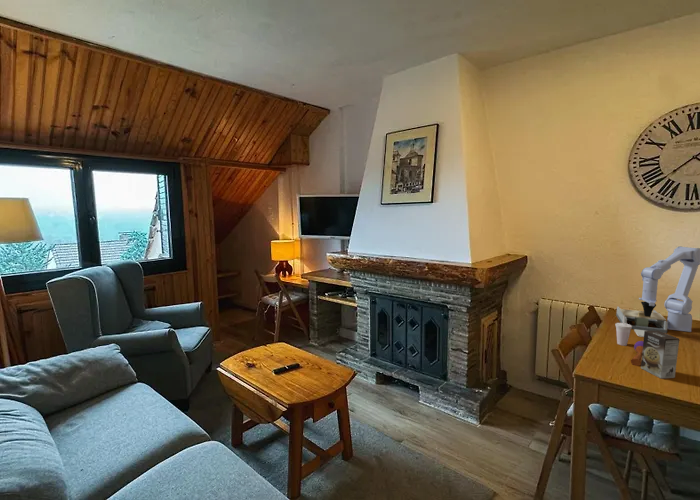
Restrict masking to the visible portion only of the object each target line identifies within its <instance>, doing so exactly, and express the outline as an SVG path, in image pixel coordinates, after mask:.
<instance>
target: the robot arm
mask: <svg viewBox="0 0 700 500" xmlns="http://www.w3.org/2000/svg"><path fill="white" fill-rule="evenodd" d="M677 262H681V263H682V264H683V268H682V271H681V274H680V277H679V278H678V279H679V280H678V283H677V285H676V288H675V292H673V293H671V294H669V295H668V297H667V298H666V299H665V301H664V304H663V305H664V308H665V309H666V311H667V319H666V322H667V323H668V326H667V330H673V331H680V332H688V333H691V332H692V326H693V325H692V324H693V316H692V314H691V312H692V309H693V300H692V299H691V298H690V297H689V293H690V290H691V288H692V285H693V282H694V280H695V277H696V275H697V272H698V268H699V265H700V248H699V247H688V246H676V248H674V249H673V253H671V254H670V255H669V256H668V257H666V258H665V259H659V260H657V262H655V263H653V264H652V265H651V266H649V267H648V266H646V267H644V268H643V269H642V271H640V276H641V278H642V292H641V297H638V300H640V303H641V305H642V308H643V310H642V311H644V315H645V316H648V317H650V316H651V313H652V312H653V310H655V308H656V307H657V304H656V302H657V294H658V285H659V284H658V283H659V280H661V278H662V276H663V275H664V273H666V272H667V271H668V270H670V269H671V267H672V265H673V264H676V263H677Z"/></svg>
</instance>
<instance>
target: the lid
mask: <svg viewBox="0 0 700 500" xmlns="http://www.w3.org/2000/svg"><path fill="white" fill-rule="evenodd" d="M620 310H621V312H622V313H623V315H624V316H627V317H636V318H645V319H655V320H664V321H666V322H667V319H666V318H665V317H664V316H663V315H662V314H661V313H660V312H657V313H655V312H653V311H652V313H651V316H650V317H648V316H645V315H644V310H635V309H634V310H633V309H624V308H620Z"/></svg>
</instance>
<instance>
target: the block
mask: <svg viewBox="0 0 700 500" xmlns="http://www.w3.org/2000/svg"><path fill="white" fill-rule="evenodd" d="M648 322H649V319H645V318H636V317H635V321H634V325H635V326H643V327H649V323H648Z"/></svg>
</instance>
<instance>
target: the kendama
mask: <svg viewBox="0 0 700 500" xmlns="http://www.w3.org/2000/svg"><path fill="white" fill-rule="evenodd" d="M643 341H644V340H639V341H637V342H635V343H634V346H633V349H634V350H635V352H636V354H635V355H634V356H633V358H632V359H630V363H631V365H633V366H636V367H641V362H642V352H643Z"/></svg>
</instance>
